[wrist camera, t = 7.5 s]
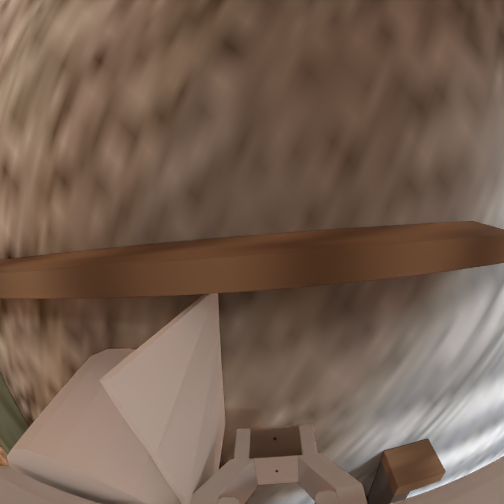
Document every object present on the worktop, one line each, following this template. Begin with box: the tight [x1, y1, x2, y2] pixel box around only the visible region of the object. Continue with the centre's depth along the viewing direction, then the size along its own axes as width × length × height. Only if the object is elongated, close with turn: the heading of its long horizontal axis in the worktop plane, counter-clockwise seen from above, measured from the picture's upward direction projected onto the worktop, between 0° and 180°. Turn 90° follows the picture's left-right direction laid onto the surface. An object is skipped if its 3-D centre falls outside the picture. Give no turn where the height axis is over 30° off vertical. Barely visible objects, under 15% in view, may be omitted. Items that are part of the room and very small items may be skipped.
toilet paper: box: [7, 293, 226, 504], centre depth 10 cm, size 8×11×7 cm
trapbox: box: [0, 221, 504, 504], centre depth 12 cm, size 28×20×3 cm
